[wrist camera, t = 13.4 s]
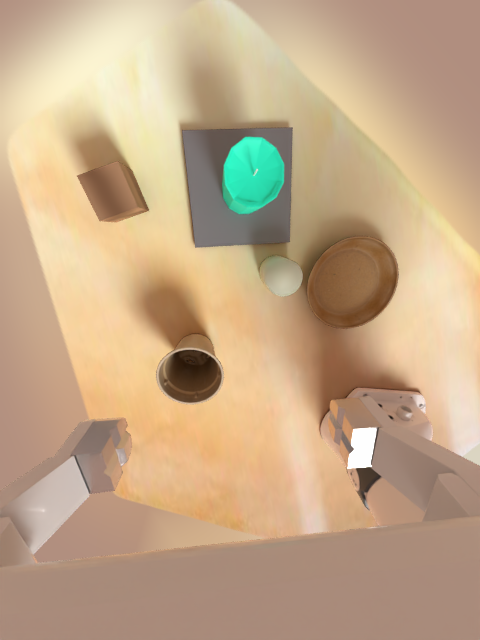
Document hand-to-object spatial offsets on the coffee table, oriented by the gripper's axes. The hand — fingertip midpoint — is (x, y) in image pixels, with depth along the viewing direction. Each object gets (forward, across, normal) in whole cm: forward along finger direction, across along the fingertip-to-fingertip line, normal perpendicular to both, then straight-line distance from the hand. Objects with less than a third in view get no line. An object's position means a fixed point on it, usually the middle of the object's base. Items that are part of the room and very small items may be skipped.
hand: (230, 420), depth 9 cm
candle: (+29, -3, -12) cm, 32 cm away
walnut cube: (+30, +13, -12) cm, 35 cm away
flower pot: (+30, +6, +12) cm, 33 cm away
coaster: (+30, -3, -12) cm, 32 cm away
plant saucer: (+31, -20, +2) cm, 37 cm away
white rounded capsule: (+30, -8, -1) cm, 31 cm away
